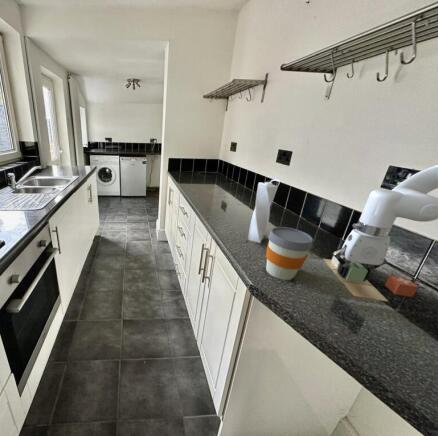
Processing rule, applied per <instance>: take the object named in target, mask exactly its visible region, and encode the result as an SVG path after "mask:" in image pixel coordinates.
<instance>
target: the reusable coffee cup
mask: <svg viewBox="0 0 438 436" xmlns="http://www.w3.org/2000/svg"><path fill="white" fill-rule="evenodd" d="M313 241H314V239H313V237H312V236H311V235H310V234H309V233H307V232H304V231H302V230H300V229H297V228H292V227H288V226H287V227H286V226H276V227H273V228H271V229H270V232H269V234H268V243H267V244H266V245H267V246H266V254H265V257H266V267H265V270H266V272H267V273H268V274H269V275H270V276H272V277H273V278H276V279H279V280H283V281H292V280H293V279H294V278H295V277H296V275H297V273H298V272H299V270H300V269H301V268H302V267H303V265H304V263H305V261H306V259H307V257H308V256H309V255H308V252H309V251H311V249H312V246H313Z"/></svg>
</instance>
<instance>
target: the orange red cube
mask: <svg viewBox="0 0 438 436" xmlns="http://www.w3.org/2000/svg"><path fill="white" fill-rule="evenodd" d="M384 286H385V287H386V288H387V289H388V290H389V291H391V292H392V293H393V295H398V296H404V297H409V298H413V297H414V295H415V294H416V291H417V290H418V288H419V286H418V285H417V284H415V283H414V282H413V281H412V280H410V279H409V278H408V277H405V276H404V277H402V276H396V275H389V276H388V278H387V280H386V282H385V284H384Z"/></svg>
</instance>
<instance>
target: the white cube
mask: <svg viewBox="0 0 438 436" xmlns="http://www.w3.org/2000/svg"><path fill="white" fill-rule="evenodd" d="M336 251H337V250H336ZM336 251H334V252H336ZM343 256H344V255H341V256H340V257H341V258H343ZM331 260H332V261H331V262H332V263H333V265H334V266H335V267H336V268H339V266H340V263H339V261H338V260H337V259H336V258H335V256H334V255H333V254H332V258H331ZM354 263H356V262H354Z"/></svg>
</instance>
